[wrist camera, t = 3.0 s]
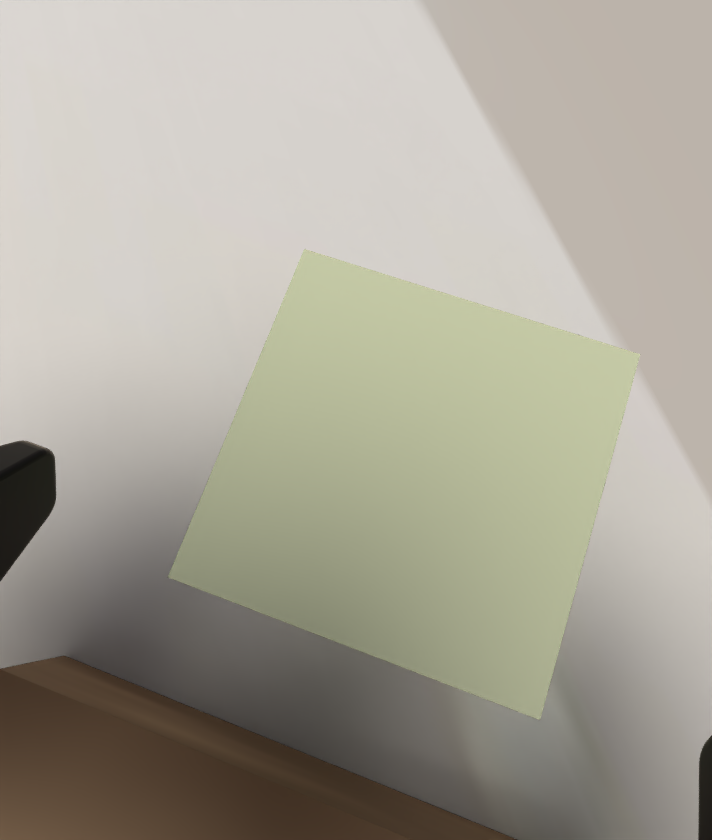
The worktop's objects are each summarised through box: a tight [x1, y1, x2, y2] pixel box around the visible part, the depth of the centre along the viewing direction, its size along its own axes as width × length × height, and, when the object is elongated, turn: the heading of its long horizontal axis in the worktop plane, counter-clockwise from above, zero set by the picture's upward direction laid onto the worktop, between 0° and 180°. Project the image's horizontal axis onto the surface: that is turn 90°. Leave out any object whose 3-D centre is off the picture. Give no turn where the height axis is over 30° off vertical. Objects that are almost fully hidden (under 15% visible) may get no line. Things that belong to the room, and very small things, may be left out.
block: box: [168, 249, 640, 720], centre depth 13 cm, size 4×4×10 cm
